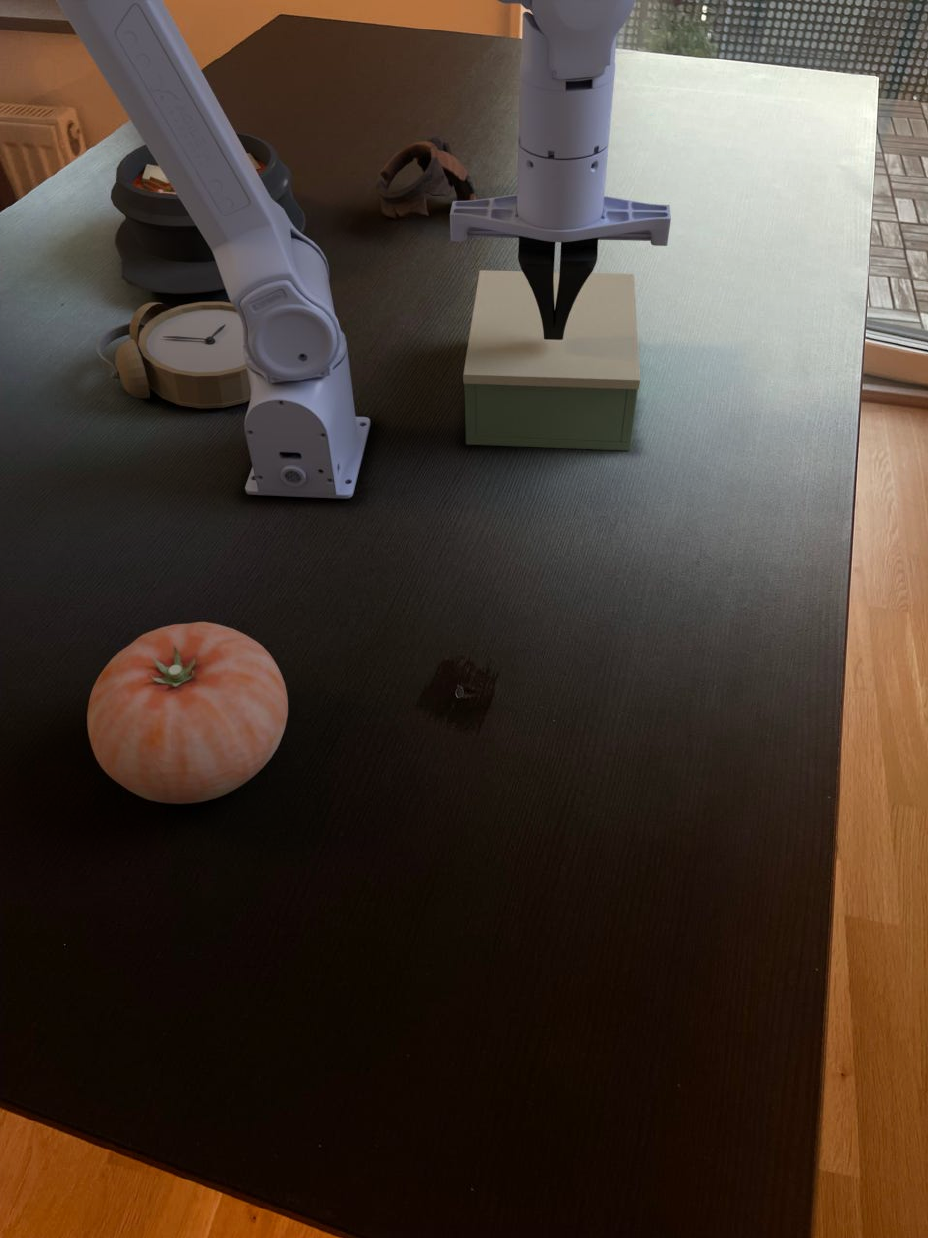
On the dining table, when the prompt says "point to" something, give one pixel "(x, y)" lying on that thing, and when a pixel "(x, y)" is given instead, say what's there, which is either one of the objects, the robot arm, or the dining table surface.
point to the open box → (549, 416)
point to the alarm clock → (182, 354)
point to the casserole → (180, 222)
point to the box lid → (583, 358)
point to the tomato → (187, 713)
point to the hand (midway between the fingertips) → (553, 332)
